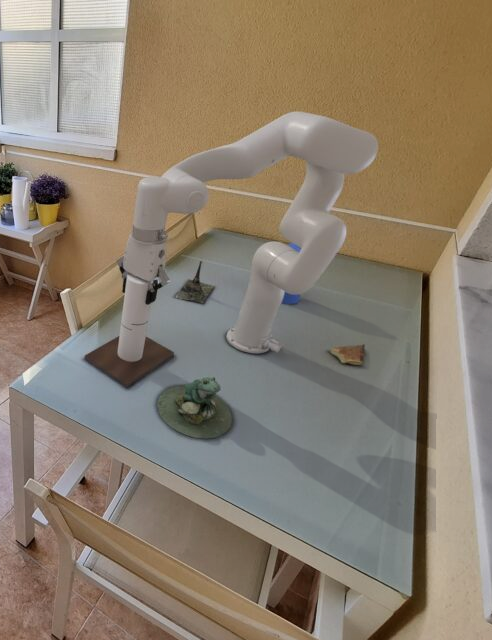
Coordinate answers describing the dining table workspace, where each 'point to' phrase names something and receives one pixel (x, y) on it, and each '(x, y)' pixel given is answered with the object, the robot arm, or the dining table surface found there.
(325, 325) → the dining table surface
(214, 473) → the dining table surface
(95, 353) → the board
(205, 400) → the frog figurine
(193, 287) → the eiffel tower figurine
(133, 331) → the cylindrical container
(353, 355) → the shard
